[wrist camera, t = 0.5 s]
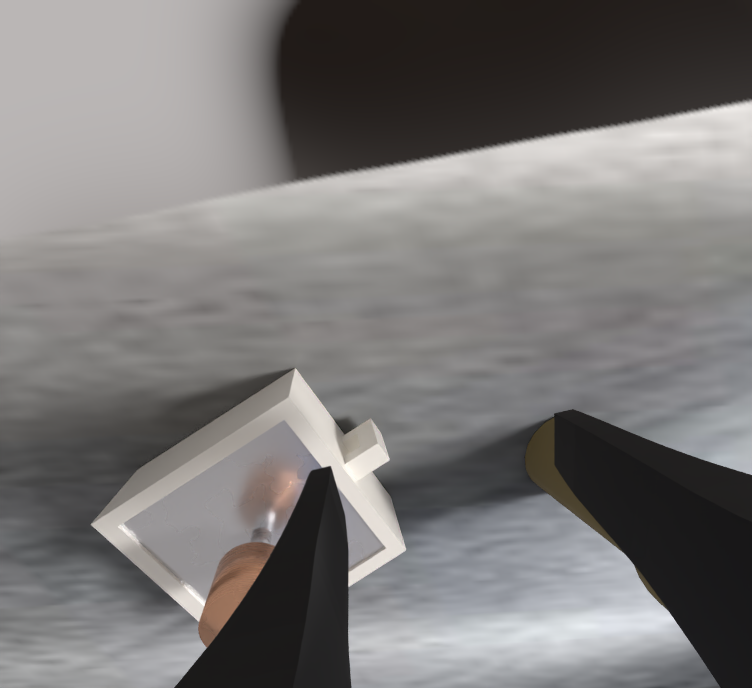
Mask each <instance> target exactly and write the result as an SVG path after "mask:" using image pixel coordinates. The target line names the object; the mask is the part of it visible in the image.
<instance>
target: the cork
mask: <svg viewBox="0 0 752 688" xmlns="http://www.w3.org/2000/svg"><path fill="white" fill-rule="evenodd" d="M525 465H526V470H527V472H528V474H529V477H530V479H531V480H532V481H533V482H535V483H536V484H537V485H538V486H539V487H540V488H542V489H543V490H544V491H545V492H547V493H548V494H549V495H551V496H552V497H553V498H554V499H556V500H557V501H558V502H559V503H561V504H562V505H563V506H565V507H566V508H567V509H568V510H570V511H571V512H572V513H573V514H575V515H576V516H577V517H579V518H580V519H581V520H582V521H584V522H585V523H586V524H588V525H589V526H590V527H591V528H593V529H594V530H595V531H596V532H598V533H599V534H600V535H602V536H603V537H604V538H605V539H607V540H608V541H609V542H610V543H612V544H613V545H614V546H616V547H617V548H618V549H619V550H621V549H620V547H619V546H618V545H617V544H616V543H615V542H614V541H613V539H612V538H611V537H610V536H609V535H608V534H607V532H606V531H605V530H604V529H603V528H602V527H601V526H600V524H599V523H598V522H597V521H596V520H595V519H594V517H593V516H592V515H591V514H590V513H589V512H588V510H587V509H586V508H585V507H584V506H583V505H582V503H581V502H580V501H579V500H578V499H577V497H576V496H575V495H574V494H573V492H572V491H571V489H570V488H569V487H568V485H567V484H566V482H565V481H564V479H563V478H562V476H561V475H560V473H559V471H558V470H557V468H556V467H555V465H554V418H552V419H550V420H549V421H547V422H545V423H544V424H543V425H542V426H541V427H540V428H539V429H538V430H537V431H536V432H535V433H534V435H533V437H532V438H531V440H530V442H529V444H528V446H527V450H526V455H525ZM621 551H622V550H621ZM622 552H623V551H622ZM623 553H624V552H623ZM624 554H625V553H624ZM635 568H636V566H635ZM636 571H637V573H638V575H639V578H640V579H641V581H642V582H643V584H644V585H645V587H646V588H647V590H648V591H649V592H650V593H651V594H652V596H653V597H654V598H655V599H656V600H657V601H658V602H659V603H660V604H661V605H663V606H664V607H665V605H664V604H663V603H662V601H661V600H660V598H659V597H658V596H657V594H656V593H655V592H654V590H653V589H652V587H651V586H650V585H649V583H648V582H647V580H646V579H645V578H644V576H643V575H642V574H641V573H640V571H639V570H638V569H637V568H636ZM665 608H666V607H665ZM666 609H667V608H666ZM667 610H668V609H667Z"/></svg>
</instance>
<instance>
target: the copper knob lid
mask: <svg viewBox="0 0 752 688" xmlns="http://www.w3.org/2000/svg"><path fill="white" fill-rule="evenodd" d="M319 468H322V467H321V465H320V464H319V463H318V462H317V460H316V459H315V458H314V457H313V455H312V454H311V453H310V451H309V450H308V449H307V448H306V446H305V445H304V444H303V443H302V441H301V440H300V439H299V438H298V436H297V435H296V434H295V432H294V431H293V430H292V429H291V427H290V426H289V425H288V424H287V422H286V421H285V420H283V421H282V422H280V423H278V424H277V425H275V426H274V427H272V428H271V429H269V430H268V431H266V432H264V433H263V434H261V435H260V436H258V437H257V438H255V439H254V440H252V441H250V442H249V443H247V444H246V445H244V446H243V447H241V448H240V449H238V450H236V451H235V452H233V453H232V454H230V455H229V456H227V457H225V458H224V459H222V460H221V461H219V462H218V463H216V464H215V465H213V466H211V467H210V468H208V469H207V470H205V471H204V472H202V473H201V474H199V475H197V476H196V477H194V478H193V479H191V480H190V481H188V482H187V483H185V484H183V485H182V486H180V487H179V488H177V489H176V490H174V491H173V492H171V493H169V494H168V495H166V496H165V497H163V498H162V499H160V500H159V501H157V502H155V503H154V504H152V505H151V506H149V507H148V508H146V509H145V510H143V511H141V512H140V513H138V514H137V515H135V516H134V517H132V518H131V519H129V520H127V521H126V522H124V523H123V524H121V526H122V527H123V528H124V529H125V530H126V531H127V532H128V533H129V534H131V535H132V536H133V537H134V538H135V539H136V540H137V541H138V542H139V543H140V544H141V545H142V546H144V547H145V548H146V549H147V550H148V551H149V552H150V553H151V554H152V555H153V556H154V557H155V558H156V559H158V560H159V561H160V562H161V563H162V564H163V565H164V566H165V567H166V568H167V569H168V570H169V571H171V572H172V573H173V574H174V575H175V576H176V577H177V578H178V579H179V580H180V581H181V582H182V583H183V584H185V585H186V586H187V587H188V588H189V589H190V590H191V591H192V592H193V593H194V594H195V595H196V596H198V597H199V598H200V599H201V600H202V601H203V602H204V603H205V606H204V609H203V612H202V615H201V618H200V621H199V627H198V630H199V635H200V638H201V640H202V642H203V643H204V645H205V646H206V647H208V646H209V645H210V644H211V642H212V641H213V640H214V638H215V637H216V636H217V634H218V633H219V632H220V630H221V629H222V628H223V626H224V625H225V624H226V622H227V621H228V619H229V618H230V617H231V615H232V614H233V612H234V611H235V609H236V608H237V607H238V605H239V604H240V602H241V601H242V600H243V598H244V597H245V595H246V594H247V592H248V591H249V589H250V587H251V586H252V584H253V583H254V581H255V580H256V578H257V576H258V575H259V573H260V572H261V570H262V568H263V567H264V565H265V563H266V562H267V560H268V558H269V556H270V554H271V553H272V551H273V549H274V547H275V545H276V544H277V542H278V540H279V538H280V536H281V534H282V532H283V531H284V529H285V527H286V524H287V522H288V520H289V518H290V516H291V514H292V512H293V510H294V508H295V506H296V503H297V501H298V499H299V497H300V494H301V492H302V490H303V487H304V485H305V482H306V480H307V477H308V475H309V473H310V472H311V470H315V469H319ZM337 489H338V492H339V495H340V499H341V502H342V506H343V509H344V513H345V518H346V528H347V538H348V548H349V569H351V568H353V567H354V566H356V565H357V564H359V563H360V562H362V561H363V560H365V559H367V558H368V557H370V556H371V555H373V554H374V553H376V552H378V551H379V550H381V549H382V548H384V547H385V546H384V545H383V544H382V542H381V541H380V540H379V539H378V537H377V536H376V535H375V534H374V532H373V531H372V530H371V529H370V527H369V526H368V525H367V524H366V522H365V521H364V520H363V518H362V517H361V516H360V515H359V513H358V512H357V511H356V510H355V508H354V507H353V506H352V505H351V503H350V502H349V501H348V499H347V498H346V497H345V496H344V494H343V493H342V492H341V491H340V489H339V488H338V487H337Z"/></svg>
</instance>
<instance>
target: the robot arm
mask: <svg viewBox="0 0 752 688" xmlns="http://www.w3.org/2000/svg"><path fill="white" fill-rule="evenodd" d="M554 465H555V467H556V468H557V470H558V471H559V473H560V475H561V476H562V478H563V479H564V481H565V482H566V484H567V485H568V487H569V488H570V489H571V491H572V492H573V494H574V495H575V496H576V497H577V499H578V500H579V501H580V502H581V503H582V505H583V506H584V507H585V508H586V509H587V510H588V512H589V513H590V514H591V515H592V516H593V517H594V519H595V520H596V521H597V522H598V523H599V524H600V526H601V527H602V528H603V529H604V530H605V531H606V532H607V534H608V535H609V536H610V537H611V538H612V539H613V541H614V542H615V543H616V544H617V545H618V546H619V547H620V549H621V550H622V551H623V552H624V553H625V554H626V556H627V557H628V558H629V559H630V560H631V561H632V563H633V564H634V565H635V566H636V568H637V569H638V570H639V571H640V573H641V574H642V575H643V576H644V578H645V579H646V580H647V582H648V583H649V585H650V586H651V587H652V589H653V590H654V592H655V593H656V594H657V596H658V597H659V598H660V600H661V601H662V603H663V604H664V605H665V607H666V608H667V609H668V611H669V612H670V614H671V615H672V616H673V618H674V619H675V621H676V622H677V624H678V625H679V627H680V628H681V629H682V631H683V632H684V634H685V635H686V637H687V638H688V640H689V641H690V642H691V644H692V645H693V647H694V648H695V650H696V651H697V653H698V654H699V655H700V657H701V658H702V660H703V662H704V663H705V665H706V666H707V668H708V669H709V671H710V672H711V674H712V675H713V677H714V678H715V680H716V681H717V683H718V684H719V686H720V687H721V688H752V475H750V474H746V473H743V472H740V471H736V470H733V469H730V468H727V467H723V466H720V465H717V464H714V463H711V462H707V461H704V460H701V459H699V458H696V457H693V456H690V455H687V454H685V453H682V452H679V451H676V450H673V449H671V448H668V447H665V446H663V445H660V444H658V443H655V442H652V441H650V440H647V439H645V438H642V437H640V436H638V435H635V434H633V433H630V432H628V431H625V430H623V429H621V428H618V427H616V426H613V425H611V424H609V423H606V422H604V421H601V420H599V419H597V418H594V417H592V416H589V415H587V414H584V413H582V412H579V411H576V410H573V409H572V410H568V411H564V412H559V413H555V414H554ZM348 574H349V548H348V538H347V528H346V518H345V513H344V509H343V506H342V502H341V499H340V495H339V492H338V489H337V485H336V482H335V478H334V475H333V471H332V468H331V466H328V467H323V468H319V469H315V470H311V472H310V473H309V475H308V477H307V480H306V482H305V485H304V487H303V490H302V492H301V494H300V497H299V499H298V501H297V503H296V506H295V508H294V510H293V512H292V514H291V516H290V518H289V520H288V522H287V524H286V527H285V529H284V531H283V532H282V534H281V536H280V538H279V540H278V542H277V544H276V545H275V547H274V549H273V551H272V553H271V554H270V556H269V558H268V560H267V562H266V563H265V565H264V567H263V568H262V570H261V572H260V573H259V575H258V576H257V578H256V580H255V581H254V583H253V584H252V586H251V587H250V589H249V591H248V592H247V594H246V595H245V597H244V598H243V600H242V601H241V602H240V604H239V605H238V607H237V608H236V609H235V611H234V612H233V614H232V615H231V617H230V618H229V619H228V621H227V622H226V624H225V625H224V626H223V628H222V629H221V630H220V632H219V633H218V634H217V636H216V637H215V638H214V640H213V641H212V642H211V644H210V645H209V646H208V647H207V649H206V650H205V651H204V652H203V653H202V655H201V656H200V657H199V658H198V660H197V661H196V662H195V663H194V665H193V666H192V667H191V668H190V669H189V671H188V672H187V673H186V674H185V676H184V677H183V678H182V679H181V680H180V682H179V683H178V684H177V685H176V686H175V687H174V688H351V677H350V663H349V646H348Z"/></svg>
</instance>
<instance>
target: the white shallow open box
mask: <svg viewBox="0 0 752 688" xmlns="http://www.w3.org/2000/svg"><path fill="white" fill-rule="evenodd" d="M283 420H285V421H286V422H287V424H288V425H289V426H290V427H291V429H292V430H293V431H294V432H295V434H296V435H297V436H298V438H299V439H300V440H301V441H302V443H303V444H304V445H305V446H306V448H307V449H308V450H309V451H310V453H311V454H312V455H313V457H314V458H315V459H316V460H317V462H318V463H319V464H320V465H321V467H322V468H323V467H328V466H331V468H332V471H333V475H334V478H335V482H336V485H337V487H338V488H339V489H340V491H341V492H342V493H343V494H344V496H345V497H346V498H347V499H348V501H349V502H350V503H351V505H352V506H353V507H354V508H355V510H356V511H357V512H358V513H359V515H360V516H361V517H362V518H363V520H364V521H365V522H366V524H367V525H368V526H369V527H370V529H371V530H372V531H373V532H374V534H375V535H376V536H377V537H378V539H379V540H380V541H381V542H382V544H383V545H384V546H385V547H384V548H382V549H381V550H379V551H378V552H376V553H374V554H373V555H371V556H370V557H368V558H367V559H365V560H363V561H362V562H360V563H359V564H357V565H356V566H354V567H353V568H351V569H349V574H348V587H349V586H351V585H352V584H354V583H356V582H357V581H359V580H360V579H362V578H363V577H365V576H366V575H368V574H370V573H371V572H373V571H374V570H376V569H377V568H379V567H381V566H382V565H384V564H385V563H387V562H388V561H390V560H392V559H393V558H395V557H396V556H398V555H399V554H401V553H402V552H404V551H406V547H405V544H404V541H403V537H402V534H401V530H400V527H399V523H398V520H397V516H396V513H395V509H394V506H393V502H392V499H391V497H390V495H389V494H388V493H387V491H386V490H385V489H384V487H383V486H382V484H381V483H380V482H379V480H378V479H377V478H376V476H375V475H374V474H373V472H372V471H373V470H375V469H377V468H378V467H380V466H381V465H383V464H384V463H386V462H387V461H389V460H390V459H389V456H388V453H387V450H386V447H385V444H384V441H383V438H382V435H381V433H380V431H379V430H378V428H377V427H376V425H375V424H374V423H373V421H372V420H371V418H370V419H369V420H367V421H365V422H364V423H362V424H361V425H359V426H358V427H356V428H355V429H353V430H351V431H350V432H348V433H347V434H344V433H343V432H342V430H341V429H340V428H339V426H338V425H337V424H336V422H335V421H334V420H333V418H332V417H331V416H330V414H329V413H328V411H327V410H326V409H325V407H324V406H323V405H322V403H321V402H320V401H319V399H318V398H317V397H316V395H315V394H314V393H313V391H312V390H311V388H310V387H309V386H308V384H307V383H306V382H305V380H304V379H303V378H302V376H301V375H300V374H299V372H298V371H297V370H296V368H295V369H293V370H291V371H290V372H288V373H287V374H285V375H284V376H282V377H281V378H279V379H277V380H276V381H274V382H273V383H271V384H270V385H268V386H267V387H265V388H263V389H262V390H260V391H259V392H257V393H256V394H254V395H253V396H251V397H249V398H248V399H246V400H245V401H243V402H242V403H240V404H239V405H237V406H235V407H234V408H232V409H231V410H229V411H228V412H226V413H225V414H223V415H221V416H220V417H218V418H217V419H215V420H214V421H212V422H211V423H209V424H207V425H206V426H204V427H203V428H201V429H200V430H198V431H197V432H195V433H193V434H192V435H190V436H189V437H187V438H186V439H184V440H183V441H181V442H180V443H178V444H176V445H175V446H173V447H172V448H170V449H169V450H167V451H166V452H164V453H162V454H161V455H159V456H158V457H156V458H155V459H153V460H152V461H150V462H148V463H147V464H145V465H144V466H142V467H141V468H139V469H138V470H137V471H136V472H135V473H134V474H133V475H132V477H131V478H130V479H129V480H128V481H127V482H126V484H125V485H124V486H123V487H122V488H121V489H120V491H119V492H118V493H117V494H116V495H115V497H114V498H113V499H112V500H111V501H110V502H109V504H108V505H107V506H106V507H105V508H104V509H103V511H102V512H101V513H100V514H99V515H98V516H97V518H96V519H95V520H94V521H93V522H92V523H91V525H92V526H93V527H94V528H95V529H96V530H97V531H98V532H100V533H101V534H102V535H103V536H104V537H105V538H106V539H107V540H108V541H110V542H111V543H112V544H113V545H114V546H115V547H116V548H117V549H118V550H120V551H121V552H122V553H123V554H124V555H125V556H126V557H127V558H129V559H130V560H131V561H132V562H133V563H134V564H135V565H136V566H137V567H139V568H140V569H141V570H142V571H143V572H144V573H145V574H146V575H147V576H149V577H150V578H151V579H152V580H153V581H154V582H155V583H156V584H157V585H159V586H160V587H161V588H162V589H163V590H164V591H165V592H166V593H168V594H169V595H170V596H171V597H172V598H173V599H174V600H175V601H176V602H178V603H179V604H180V605H181V606H182V607H183V608H184V609H185V610H186V611H188V612H189V613H190V614H191V615H192V616H193V617H194V618H195V619H197V620H198V621H200V618H201V615H202V612H203V609H204V606H205V603H204V602H203V601H202V600H201V599H200V598H199V597H198V596H196V595H195V594H194V593H193V592H192V591H191V590H190V589H189V588H188V587H187V586H186V585H185V584H183V583H182V582H181V581H180V580H179V579H178V578H177V577H176V576H175V575H174V574H173V573H172V572H171V571H169V570H168V569H167V568H166V567H165V566H164V565H163V564H162V563H161V562H160V561H159V560H158V559H156V558H155V557H154V556H153V555H152V554H151V553H150V552H149V551H148V550H147V549H146V548H145V547H144V546H142V545H141V544H140V543H139V542H138V541H137V540H136V539H135V538H134V537H133V536H132V535H131V534H129V533H128V532H127V531H126V530H125V529H124V528H123V527H122V526H121V524H123V523H124V522H126V521H127V520H129V519H131V518H132V517H134V516H135V515H137V514H138V513H140V512H141V511H143V510H145V509H146V508H148V507H149V506H151V505H152V504H154V503H155V502H157V501H159V500H160V499H162V498H163V497H165V496H166V495H168V494H169V493H171V492H173V491H174V490H176V489H177V488H179V487H180V486H182V485H183V484H185V483H187V482H188V481H190V480H191V479H193V478H194V477H196V476H197V475H199V474H201V473H202V472H204V471H205V470H207V469H208V468H210V467H211V466H213V465H215V464H216V463H218V462H219V461H221V460H222V459H224V458H225V457H227V456H229V455H230V454H232V453H233V452H235V451H236V450H238V449H240V448H241V447H243V446H244V445H246V444H247V443H249V442H250V441H252V440H254V439H255V438H257V437H258V436H260V435H261V434H263V433H264V432H266V431H268V430H269V429H271V428H272V427H274V426H275V425H277V424H278V423H280V422H282V421H283Z"/></svg>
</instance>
